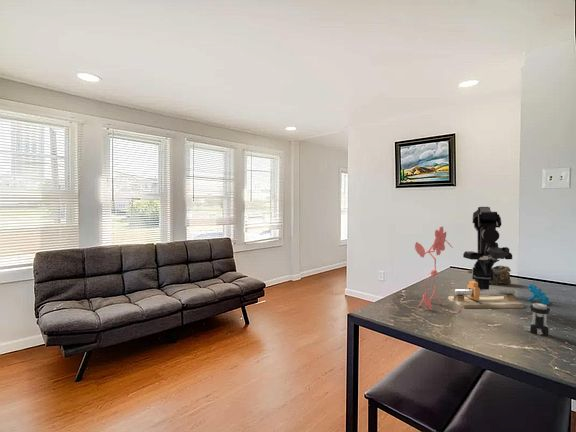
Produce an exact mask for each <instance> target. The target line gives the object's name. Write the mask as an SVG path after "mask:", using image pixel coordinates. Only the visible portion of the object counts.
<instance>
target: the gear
mask: <svg viewBox="0 0 576 432" xmlns="http://www.w3.org/2000/svg"><path fill="white" fill-rule="evenodd" d="M527 287H528V288H529V289H528V291H529V292H531V295H532V296H531V297H529V298H528V301H529V302H530V301H532V300H534V299H535V300H537V301H540V303H541V304H545V305H547V306H548V305H550V303H551V301H550V298H549V297H548V296H547V292H546V291H543V290H542V288H540V287H539V288H538V286H536V285H533V284H529V285H528V286H527ZM542 291H543V292H542Z"/></svg>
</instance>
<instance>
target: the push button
mask: <svg viewBox="0 0 576 432" xmlns="http://www.w3.org/2000/svg"><path fill="white" fill-rule="evenodd" d="M529 308H530V311H531V312H532V322H531V323H530V325H529V326H526V325H524V330H525V331H529V332H530V333H532V334H537V335H539V336H545V337H549V327H548V324H547V315H549V314H550V311H551V308H550V307H548V305H546V304H543V303H541V302H533V304H531V305H529Z"/></svg>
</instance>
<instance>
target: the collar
mask: <svg viewBox="0 0 576 432" xmlns="http://www.w3.org/2000/svg"><path fill="white" fill-rule="evenodd" d="M470 289H473V290H474V295H466V296H467V297H469V298H471V299H473V300H479V297H480V296H481V295H480V288H479V287H478V283H477V282H475V280H469V283H468V284H467V288H466V290H470Z"/></svg>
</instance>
